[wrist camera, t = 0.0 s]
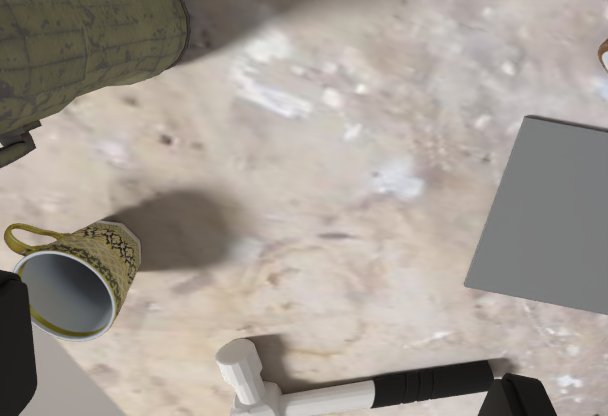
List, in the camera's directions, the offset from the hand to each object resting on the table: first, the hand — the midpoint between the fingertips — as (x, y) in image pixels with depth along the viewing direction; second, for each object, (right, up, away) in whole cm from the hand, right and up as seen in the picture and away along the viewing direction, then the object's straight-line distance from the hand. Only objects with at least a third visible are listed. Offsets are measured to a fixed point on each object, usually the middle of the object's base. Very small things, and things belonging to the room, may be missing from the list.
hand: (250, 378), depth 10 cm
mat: (+28, +2, +36) cm, 46 cm away
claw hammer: (+8, -19, +49) cm, 53 cm away
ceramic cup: (-21, 0, +43) cm, 48 cm away
